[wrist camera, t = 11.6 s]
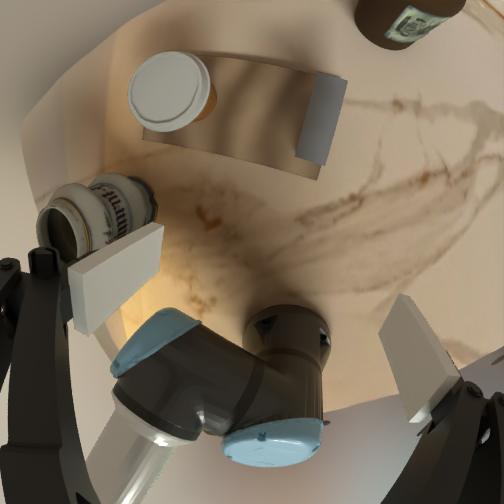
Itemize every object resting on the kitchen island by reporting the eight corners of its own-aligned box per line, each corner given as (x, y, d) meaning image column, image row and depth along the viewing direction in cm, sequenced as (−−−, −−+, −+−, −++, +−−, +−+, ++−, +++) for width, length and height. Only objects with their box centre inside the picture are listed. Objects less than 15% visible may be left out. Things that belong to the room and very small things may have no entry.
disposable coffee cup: (166, 75, 33) (124, 58, 22) (229, 67, 32) (207, 40, 21) (167, 135, 36) (124, 137, 25) (230, 130, 35) (207, 127, 24)
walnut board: (342, 85, 30) (357, 61, 20) (316, 179, 36) (322, 192, 25) (167, 55, 32) (126, 34, 22) (146, 139, 37) (100, 141, 27)
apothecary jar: (174, 228, 42) (105, 278, 25) (121, 247, 45) (52, 294, 29) (148, 156, 38) (63, 171, 22) (97, 185, 42) (18, 211, 25)
